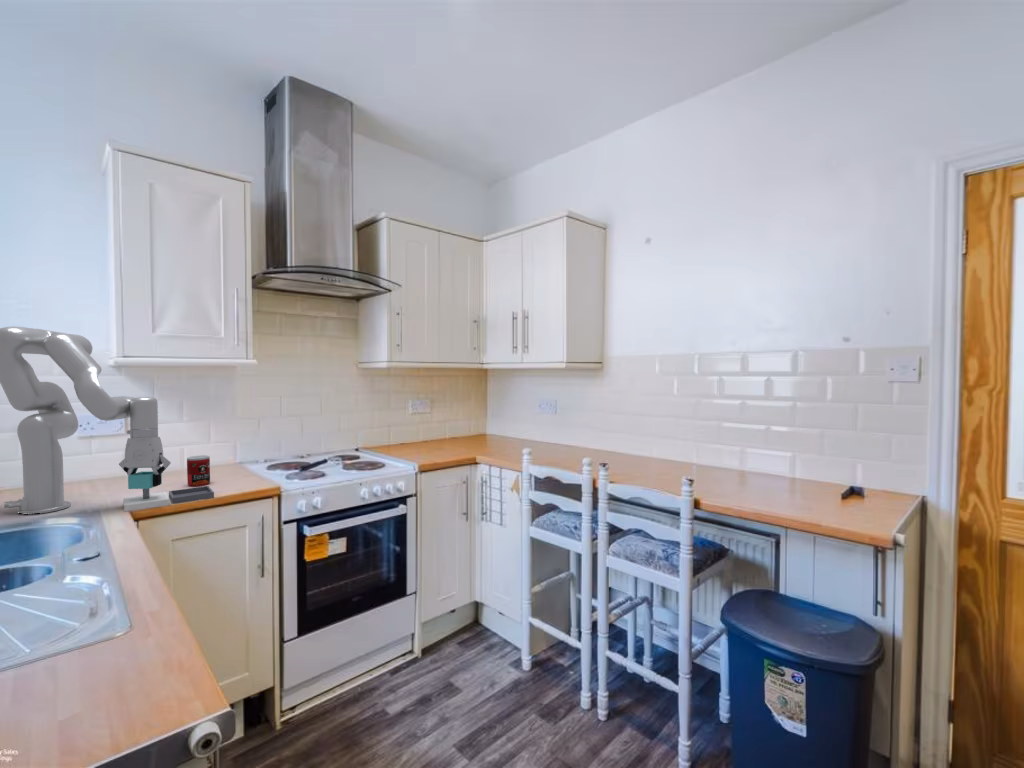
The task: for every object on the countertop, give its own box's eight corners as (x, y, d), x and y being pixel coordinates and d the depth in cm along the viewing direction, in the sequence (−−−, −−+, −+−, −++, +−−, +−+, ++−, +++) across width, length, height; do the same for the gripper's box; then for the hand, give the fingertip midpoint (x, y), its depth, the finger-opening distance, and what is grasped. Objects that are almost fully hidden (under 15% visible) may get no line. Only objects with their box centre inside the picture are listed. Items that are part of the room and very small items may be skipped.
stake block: (124, 511, 157) (123, 488, 157) (123, 503, 167) (122, 481, 166) (169, 504, 165) (169, 482, 165) (166, 497, 174) (165, 476, 174)
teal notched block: (149, 488, 163) (149, 475, 162) (128, 489, 162) (128, 475, 162) (161, 484, 169) (161, 471, 169) (141, 484, 169) (141, 471, 168)
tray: (172, 503, 166) (172, 498, 166) (168, 496, 176) (168, 491, 176) (214, 497, 174) (213, 492, 174) (208, 491, 184) (208, 485, 183)
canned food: (192, 487, 189) (191, 459, 188) (184, 484, 194) (183, 457, 193) (213, 484, 195) (213, 456, 194) (205, 481, 200) (204, 454, 199)
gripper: (108, 435, 160) (110, 489, 161) (164, 434, 162) (165, 488, 163) (124, 432, 168) (125, 483, 168) (178, 431, 170) (178, 483, 170)
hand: (145, 485), depth 166 cm, fingers closed on teal notched block, 6 cm apart
